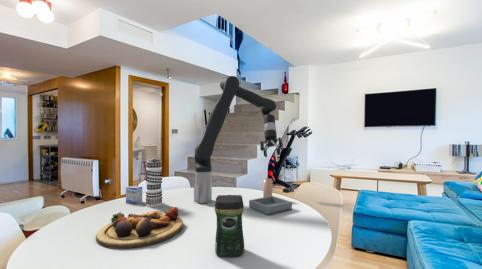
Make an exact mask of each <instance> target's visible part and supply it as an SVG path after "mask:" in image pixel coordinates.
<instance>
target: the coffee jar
mask: <svg viewBox="0 0 482 269" xmlns="http://www.w3.org/2000/svg"><path fill="white" fill-rule="evenodd" d="M244 207H245V206H244V200H243V196H242V194H222V195H217V196H216V198H215V203H214V213H215V215H216V231H215V243H214V252H215V255H217V256H218V257H224V258H225V257H227V258H228V257H230V258H231V257H239V256H242V255H243V254H244V252H245V239H244V231H243V230H244V229H243V213H244V211H245V210H244Z"/></svg>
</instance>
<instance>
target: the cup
mask: <svg viewBox="0 0 482 269" xmlns="http://www.w3.org/2000/svg"><path fill="white" fill-rule="evenodd" d="M262 180H263V182H262V183H263V186H262V188H263V189H262V190H263V191H262V193H263V194H262V195H263V197H268V196H273V178H268V177H267V178H266V177H265V178H263V179H262ZM263 197H262V198H263Z"/></svg>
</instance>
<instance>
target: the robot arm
mask: <svg viewBox="0 0 482 269" xmlns="http://www.w3.org/2000/svg"><path fill="white" fill-rule="evenodd" d="M219 87H220V89H221V91H222V93H221V96H220V97H219V99H218V100H217V102H216V103H214V106H213V107H212V108H211V111H210V113H209V116H208V118H207V120H206V126H205V131H204V135H203V137H202V138H201V139H202V140H201V141H200V143H198V144H197V145H196V147H195V149H194V169H195V171H194V172H195V174H194V175H195V178H194V179H195V181H194V182H195V184H193V202H195V203H197V204H207V203H211V202H212V195H213V194H212V191H213V190H212V188H213V187H212V179H213V178H212V175H213V174H212V169H213V168H212V159H211V158H212V155H213V152H214V148H215V145H216V141H217V138H218V136H219V135H220V132H221V130H222V128H223V126H224V123H225V121H226V118H227V115H228V112H229V110H230V107H231V105H232V102H233V100H234V98H235V97H238V98H240V99H241V100H244V101H246V102H247V103H249V104H251V105H253V106H255V107H256V108H260V111H261V114H262V117H263V125H264V126H263V129H264V130H263V131H264V141H262V140H261V141H260V151H261V152H263V156H264V157H265V158H268V149H269V148H271V147H275V148H276V155H277V156H280V155H281V149H282V148H283V147H284V143H283V139H282V137H280V136H279V137H278V135H277V126H276V117H275V115H273V114H270V113H272V112H274V111H276V110H277V103H276V102H275V101H274V100H272V99H270V98H267V97H262V96H261V95H259V93H256V92H254V91H252V90H248V89H245V88H243V87H241V86H240V80H239V78H238V77H237V76H235V75H231V76H226V77H223V78H222V79H221V80H220V84H219Z"/></svg>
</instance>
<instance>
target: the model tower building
mask: <svg viewBox="0 0 482 269" xmlns="http://www.w3.org/2000/svg"><path fill="white" fill-rule="evenodd" d="M162 170H163V168H162V160H161V159H160V158H158V157H157V158H156V157H155V158H149V159H148V160H147V161H146V168H145V170H144V174H145V176H144V177H145V181H146V182H145V184H146V190H145V191H146V192H145V194H146V195H145V206H146V207H152V208H153V207H159V206H161V205H163V197H162V196H163V189H162V188H163V187H162V183H163V178H162V177H163V173H164V171H162Z"/></svg>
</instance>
